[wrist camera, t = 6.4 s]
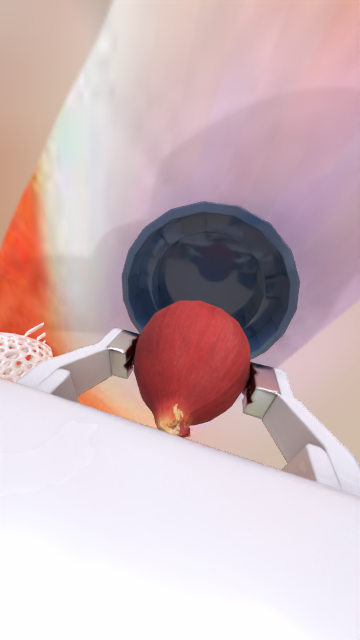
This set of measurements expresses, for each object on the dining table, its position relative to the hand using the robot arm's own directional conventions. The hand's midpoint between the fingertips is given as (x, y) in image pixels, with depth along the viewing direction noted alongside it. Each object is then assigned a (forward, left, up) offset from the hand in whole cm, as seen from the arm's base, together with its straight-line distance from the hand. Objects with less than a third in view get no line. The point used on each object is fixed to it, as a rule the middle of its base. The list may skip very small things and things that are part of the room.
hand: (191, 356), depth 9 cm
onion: (0, 0, -4) cm, 4 cm away
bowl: (0, 0, -11) cm, 11 cm away
